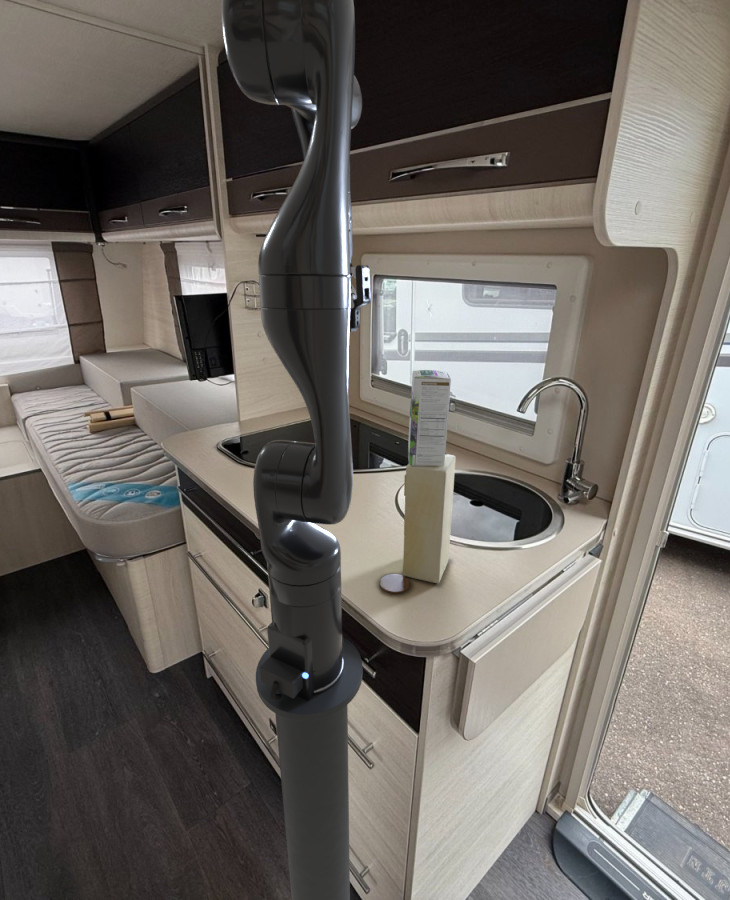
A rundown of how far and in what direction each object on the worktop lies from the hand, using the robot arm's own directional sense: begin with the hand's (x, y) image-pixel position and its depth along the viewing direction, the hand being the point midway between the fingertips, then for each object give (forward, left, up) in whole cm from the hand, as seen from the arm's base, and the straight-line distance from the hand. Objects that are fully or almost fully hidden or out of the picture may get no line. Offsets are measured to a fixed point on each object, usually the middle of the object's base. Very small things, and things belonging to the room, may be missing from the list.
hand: (331, 329), depth 81 cm
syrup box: (-2, -19, -20) cm, 28 cm away
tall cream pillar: (-2, -20, -41) cm, 46 cm away
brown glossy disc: (-9, -18, -41) cm, 45 cm away
